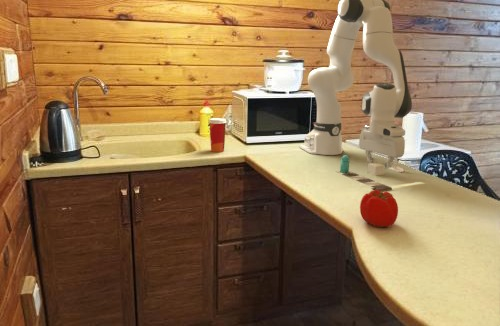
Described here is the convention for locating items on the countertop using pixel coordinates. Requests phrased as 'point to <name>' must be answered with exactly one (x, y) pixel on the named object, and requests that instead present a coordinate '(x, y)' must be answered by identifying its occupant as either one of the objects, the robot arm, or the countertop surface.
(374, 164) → the beige cube
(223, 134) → the coffee cup
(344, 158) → the pawn
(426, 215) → the countertop surface
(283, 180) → the countertop surface
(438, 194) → the countertop surface
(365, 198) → the tomato
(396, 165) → the figurine
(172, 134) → the countertop surface
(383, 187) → the board
